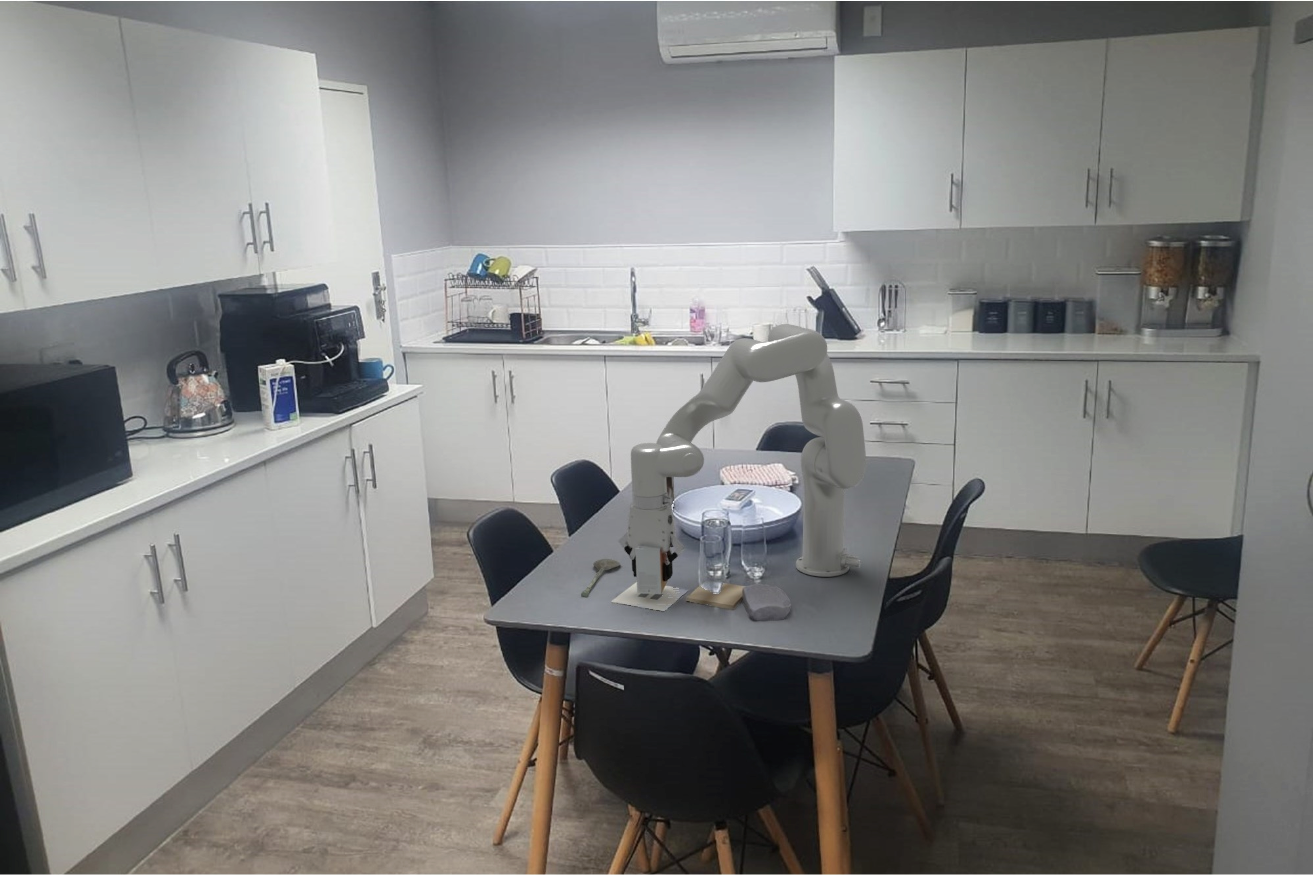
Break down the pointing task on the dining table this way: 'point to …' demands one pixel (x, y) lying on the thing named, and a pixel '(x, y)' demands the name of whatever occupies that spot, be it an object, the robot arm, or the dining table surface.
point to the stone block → (765, 602)
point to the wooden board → (718, 596)
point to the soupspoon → (600, 571)
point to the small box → (649, 570)
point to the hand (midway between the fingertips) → (652, 576)
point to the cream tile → (647, 598)
